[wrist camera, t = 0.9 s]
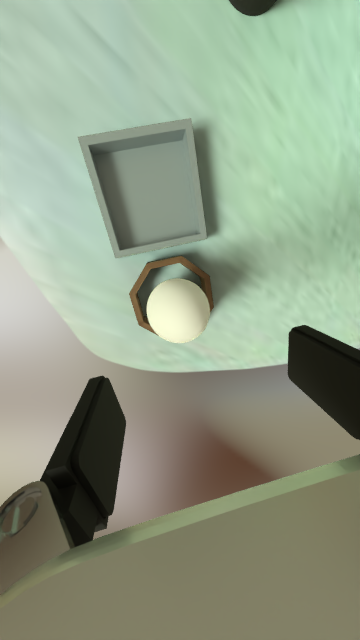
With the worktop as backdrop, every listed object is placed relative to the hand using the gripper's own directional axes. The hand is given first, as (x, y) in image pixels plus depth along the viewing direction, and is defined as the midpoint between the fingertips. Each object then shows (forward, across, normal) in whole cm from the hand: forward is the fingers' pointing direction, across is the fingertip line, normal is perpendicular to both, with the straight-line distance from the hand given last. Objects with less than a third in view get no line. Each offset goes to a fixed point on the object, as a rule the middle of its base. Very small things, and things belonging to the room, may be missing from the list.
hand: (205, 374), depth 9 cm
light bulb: (+18, 0, 0) cm, 19 cm away
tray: (+18, 0, -12) cm, 22 cm away
